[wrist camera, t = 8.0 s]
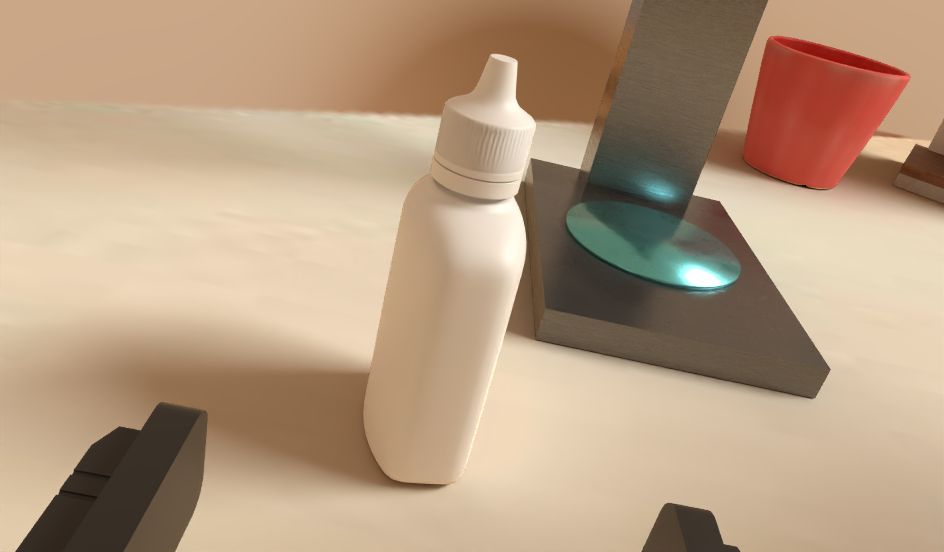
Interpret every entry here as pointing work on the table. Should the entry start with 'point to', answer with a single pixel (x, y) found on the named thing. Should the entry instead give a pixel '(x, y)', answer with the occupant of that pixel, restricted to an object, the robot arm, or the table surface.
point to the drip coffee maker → (925, 169)
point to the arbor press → (662, 216)
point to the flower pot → (816, 110)
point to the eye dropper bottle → (451, 286)
